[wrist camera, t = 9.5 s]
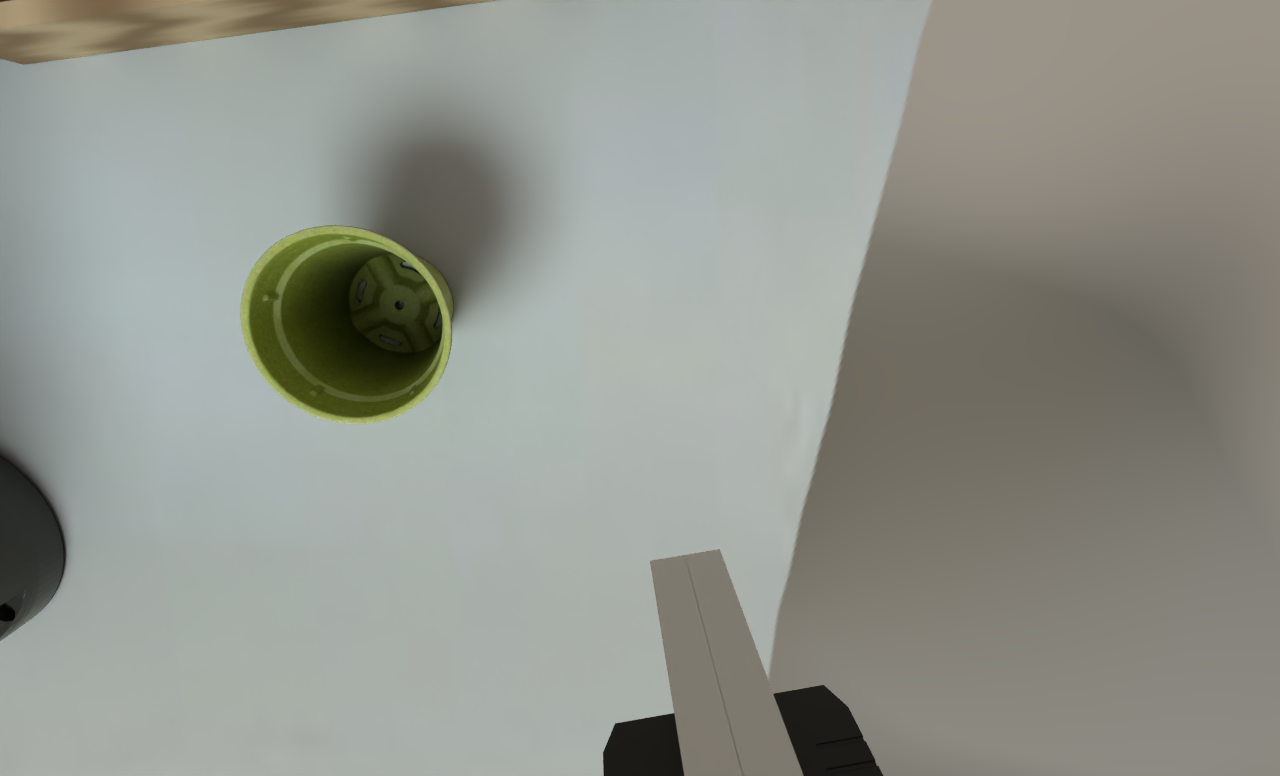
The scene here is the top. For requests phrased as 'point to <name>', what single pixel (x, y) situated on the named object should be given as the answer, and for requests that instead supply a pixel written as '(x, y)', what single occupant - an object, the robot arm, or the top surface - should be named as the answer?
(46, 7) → the wooden cubby shelf
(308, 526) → the top surface
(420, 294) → the plant pot
